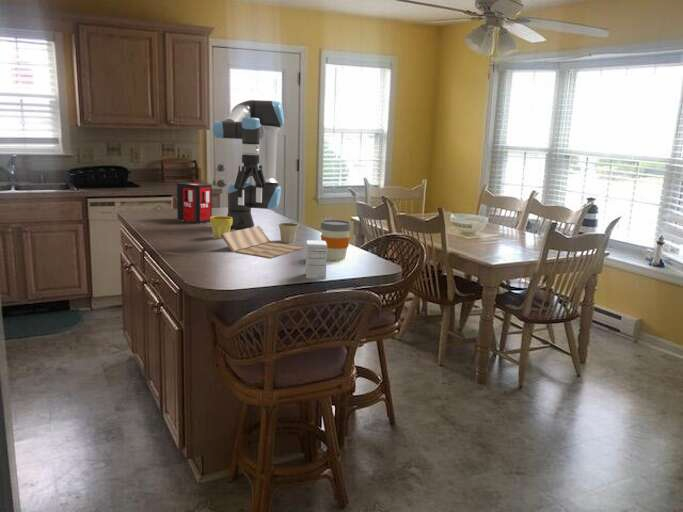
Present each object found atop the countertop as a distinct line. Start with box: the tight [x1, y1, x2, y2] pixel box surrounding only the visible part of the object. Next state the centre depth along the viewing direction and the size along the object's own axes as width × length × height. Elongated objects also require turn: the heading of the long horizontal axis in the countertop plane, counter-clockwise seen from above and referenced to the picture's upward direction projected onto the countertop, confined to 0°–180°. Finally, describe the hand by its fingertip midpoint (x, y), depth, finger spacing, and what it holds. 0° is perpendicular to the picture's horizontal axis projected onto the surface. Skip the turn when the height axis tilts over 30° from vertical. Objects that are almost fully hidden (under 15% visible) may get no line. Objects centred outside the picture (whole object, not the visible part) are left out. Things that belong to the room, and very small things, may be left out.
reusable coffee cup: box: [320, 219, 352, 261], centre depth 244 cm, size 13×13×15 cm
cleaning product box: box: [176, 181, 213, 225], centre depth 317 cm, size 16×9×20 cm, turn 58°
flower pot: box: [277, 222, 300, 244], centre depth 272 cm, size 9×9×9 cm
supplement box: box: [305, 239, 328, 280], centre depth 214 cm, size 7×7×13 cm
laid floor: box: [234, 241, 306, 259], centre depth 252 cm, size 26×18×1 cm
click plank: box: [221, 225, 271, 253], centre depth 257 cm, size 26×9×1 cm
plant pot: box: [209, 215, 233, 240], centre depth 275 cm, size 10×10×10 cm
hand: (250, 203), depth 260 cm, fingers open, 12 cm apart
